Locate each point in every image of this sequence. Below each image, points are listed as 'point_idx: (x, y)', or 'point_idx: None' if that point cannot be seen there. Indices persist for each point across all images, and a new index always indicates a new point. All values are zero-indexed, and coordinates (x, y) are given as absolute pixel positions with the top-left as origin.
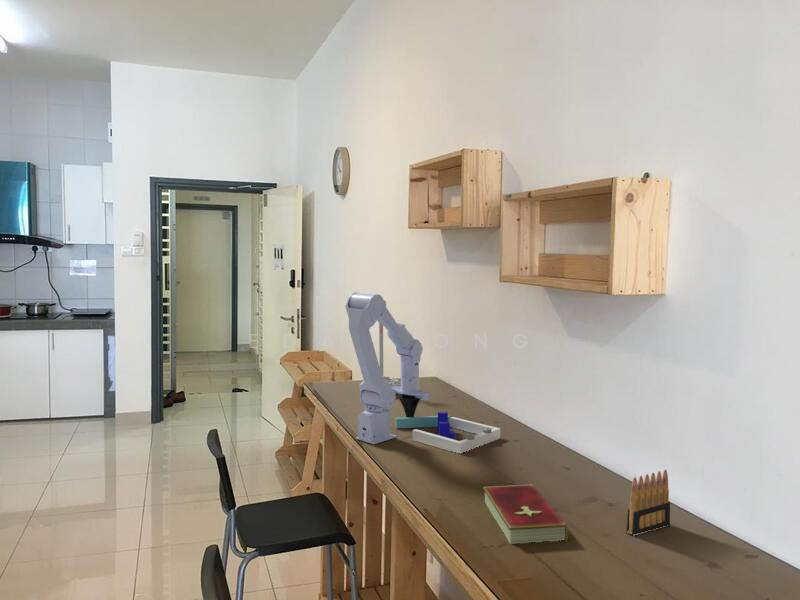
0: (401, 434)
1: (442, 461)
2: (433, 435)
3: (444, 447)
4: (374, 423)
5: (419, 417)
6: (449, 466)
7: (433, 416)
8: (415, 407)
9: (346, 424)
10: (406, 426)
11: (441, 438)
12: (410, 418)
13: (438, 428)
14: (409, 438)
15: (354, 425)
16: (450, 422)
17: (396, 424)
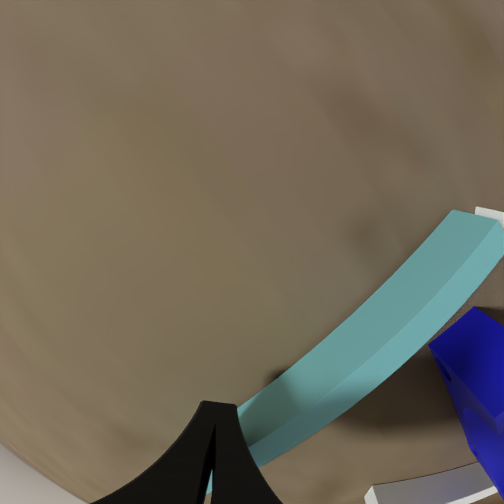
0: (277, 487)
1: (486, 500)
2: (469, 501)
3: None
4: None
5: (311, 428)
6: (499, 499)
7: (409, 339)
8: (253, 476)
9: (11, 452)
10: None
11: (495, 492)
12: (258, 465)
13: (464, 408)
14: (342, 494)
15: (33, 457)
16: None
17: None
